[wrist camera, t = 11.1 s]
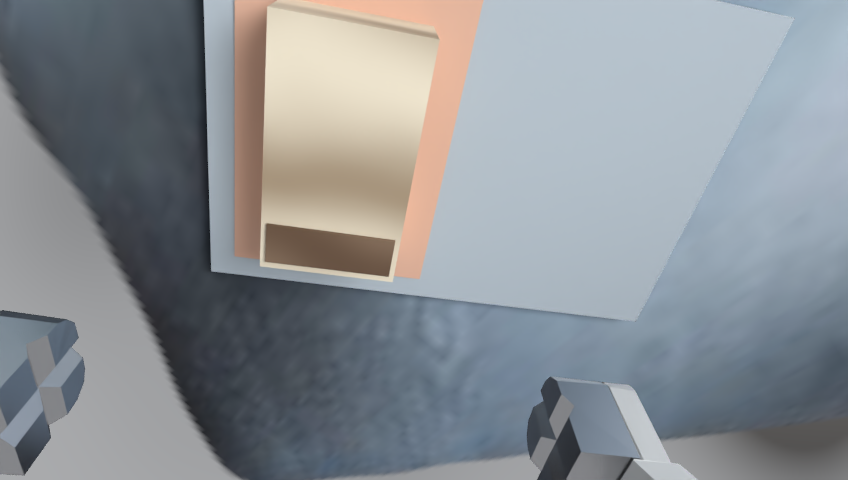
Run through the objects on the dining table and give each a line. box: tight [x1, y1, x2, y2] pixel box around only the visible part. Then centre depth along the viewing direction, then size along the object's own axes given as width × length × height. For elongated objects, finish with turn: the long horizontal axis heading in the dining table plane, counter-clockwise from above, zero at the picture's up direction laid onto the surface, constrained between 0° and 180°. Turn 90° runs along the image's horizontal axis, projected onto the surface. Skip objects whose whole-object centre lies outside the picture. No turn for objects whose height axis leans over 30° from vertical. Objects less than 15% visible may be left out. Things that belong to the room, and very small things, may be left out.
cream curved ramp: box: [260, 0, 440, 282], centre depth 18 cm, size 9×5×3 cm, turn 169°
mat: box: [204, 0, 795, 322], centre depth 20 cm, size 20×14×1 cm
